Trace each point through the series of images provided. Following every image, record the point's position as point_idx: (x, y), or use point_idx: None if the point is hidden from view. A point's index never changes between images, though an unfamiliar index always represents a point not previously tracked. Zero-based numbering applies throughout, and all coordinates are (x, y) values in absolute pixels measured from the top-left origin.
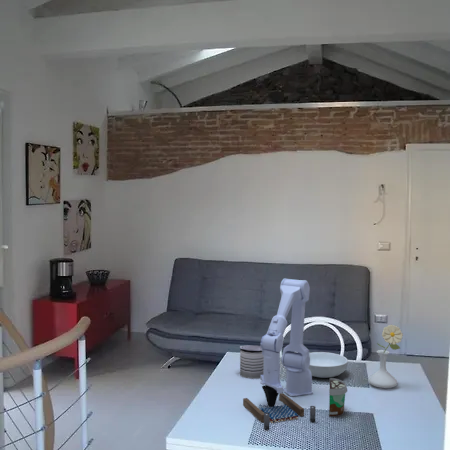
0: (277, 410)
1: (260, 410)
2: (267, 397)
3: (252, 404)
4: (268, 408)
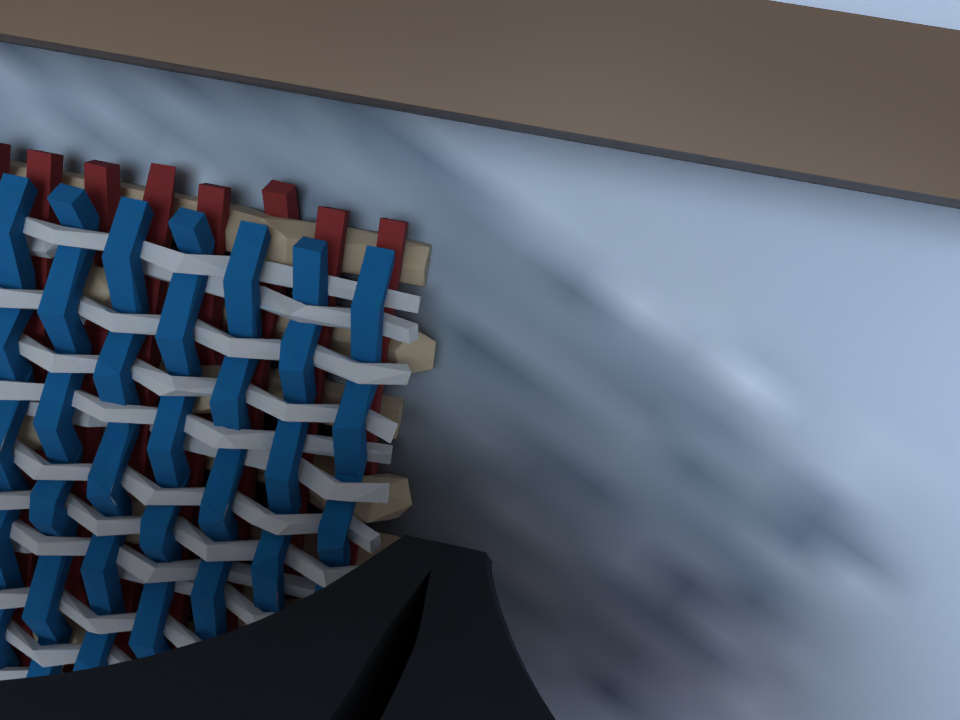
0: (90, 550)
1: (19, 18)
2: (356, 637)
3: (567, 68)
4: (291, 441)
